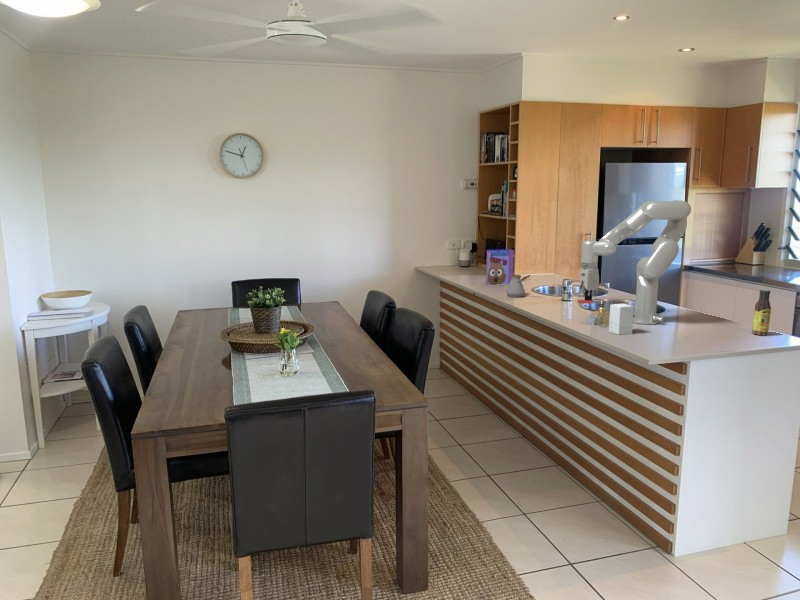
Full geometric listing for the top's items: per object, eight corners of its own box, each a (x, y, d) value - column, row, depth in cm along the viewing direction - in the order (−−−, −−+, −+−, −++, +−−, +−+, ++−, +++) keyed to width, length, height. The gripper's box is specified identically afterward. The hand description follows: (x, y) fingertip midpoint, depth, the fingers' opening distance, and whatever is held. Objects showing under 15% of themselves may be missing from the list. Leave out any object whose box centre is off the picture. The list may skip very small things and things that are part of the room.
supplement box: (632, 333, 267) (634, 306, 265) (618, 335, 265) (620, 307, 263) (622, 330, 274) (623, 303, 272) (608, 331, 272) (609, 304, 270)
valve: (623, 321, 291) (624, 306, 290) (601, 327, 279) (602, 311, 278) (601, 318, 300) (601, 303, 299) (579, 323, 288) (579, 308, 287)
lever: (605, 306, 289) (605, 300, 289) (605, 307, 287) (605, 301, 286) (577, 305, 293) (577, 299, 292) (577, 306, 290) (577, 300, 290)
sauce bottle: (761, 336, 261) (766, 291, 257) (748, 333, 266) (752, 289, 263) (771, 335, 263) (776, 290, 260) (758, 332, 269) (762, 288, 265)
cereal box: (488, 285, 404) (489, 250, 400) (486, 284, 408) (486, 249, 404) (512, 284, 408) (513, 249, 404) (509, 283, 412) (510, 248, 408)
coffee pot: (502, 295, 366) (502, 271, 364) (518, 294, 370) (519, 270, 368) (521, 301, 347) (521, 275, 344) (538, 300, 351) (538, 274, 348)
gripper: (587, 268, 282) (585, 306, 285) (605, 265, 291) (603, 302, 294) (573, 266, 288) (572, 304, 291) (591, 264, 297) (590, 300, 300)
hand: (588, 303), depth 293 cm, fingers closed
